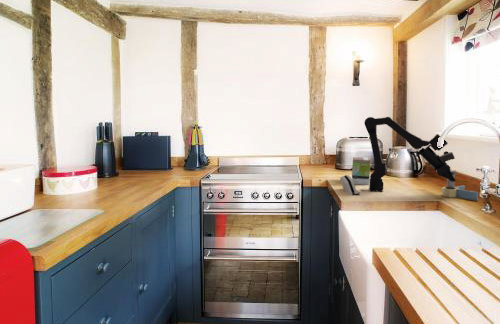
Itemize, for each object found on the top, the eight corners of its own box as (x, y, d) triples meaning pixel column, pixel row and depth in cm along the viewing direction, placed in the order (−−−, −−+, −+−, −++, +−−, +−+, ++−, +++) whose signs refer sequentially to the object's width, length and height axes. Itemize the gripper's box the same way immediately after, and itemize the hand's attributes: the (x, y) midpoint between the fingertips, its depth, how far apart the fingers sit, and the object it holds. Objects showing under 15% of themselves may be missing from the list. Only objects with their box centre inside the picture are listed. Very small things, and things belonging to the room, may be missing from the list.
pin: (448, 197, 184) (450, 171, 183) (443, 195, 188) (444, 170, 187) (456, 196, 185) (458, 170, 183) (450, 195, 189) (452, 169, 187)
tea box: (369, 185, 216) (370, 159, 214) (351, 184, 218) (352, 159, 216) (368, 180, 230) (369, 157, 228) (351, 180, 233) (352, 156, 231)
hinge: (360, 195, 187) (354, 176, 186) (351, 198, 188) (345, 179, 187) (352, 188, 204) (347, 171, 203) (344, 191, 204) (338, 174, 203)
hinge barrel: (448, 199, 178) (448, 191, 177) (437, 191, 196) (437, 184, 196) (478, 200, 175) (478, 192, 175) (464, 193, 194) (464, 185, 193)
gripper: (446, 147, 176) (471, 172, 173) (442, 145, 193) (465, 167, 191) (427, 163, 180) (451, 187, 177) (424, 159, 197) (446, 181, 195)
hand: (454, 180), depth 185 cm, fingers open, 4 cm apart
